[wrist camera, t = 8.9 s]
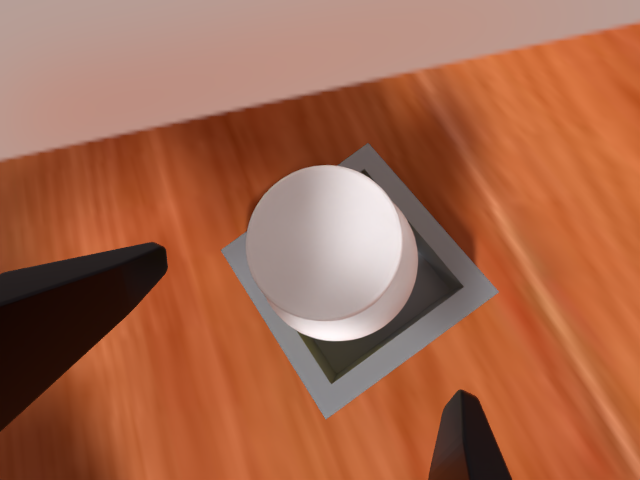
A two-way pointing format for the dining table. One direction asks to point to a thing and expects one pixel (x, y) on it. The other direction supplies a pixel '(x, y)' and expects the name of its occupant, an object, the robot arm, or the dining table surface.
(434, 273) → the can holder
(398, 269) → the supplement bottle
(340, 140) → the dining table surface
